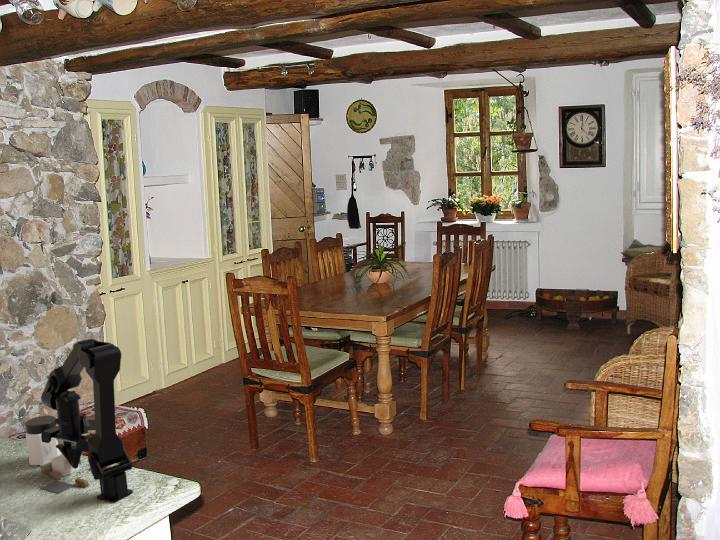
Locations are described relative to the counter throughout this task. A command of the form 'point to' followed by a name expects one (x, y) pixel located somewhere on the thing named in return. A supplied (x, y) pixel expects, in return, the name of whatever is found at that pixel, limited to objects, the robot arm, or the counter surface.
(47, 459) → the jar
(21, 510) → the counter surface
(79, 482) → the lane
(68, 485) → the mat
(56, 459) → the block
